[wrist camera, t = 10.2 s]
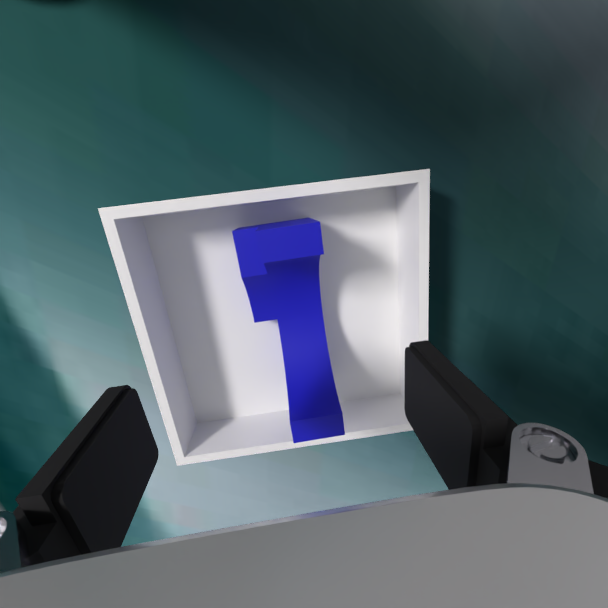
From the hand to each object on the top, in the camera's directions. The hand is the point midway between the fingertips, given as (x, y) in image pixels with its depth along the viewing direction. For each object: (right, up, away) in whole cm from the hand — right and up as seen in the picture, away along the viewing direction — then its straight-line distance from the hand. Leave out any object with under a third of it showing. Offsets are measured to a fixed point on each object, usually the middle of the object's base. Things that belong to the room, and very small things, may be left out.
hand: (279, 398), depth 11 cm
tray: (0, +3, +12) cm, 12 cm away
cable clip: (0, +3, +11) cm, 11 cm away
